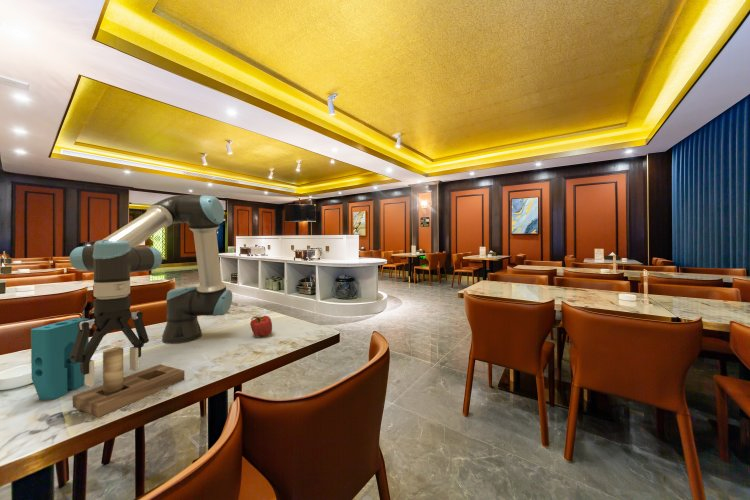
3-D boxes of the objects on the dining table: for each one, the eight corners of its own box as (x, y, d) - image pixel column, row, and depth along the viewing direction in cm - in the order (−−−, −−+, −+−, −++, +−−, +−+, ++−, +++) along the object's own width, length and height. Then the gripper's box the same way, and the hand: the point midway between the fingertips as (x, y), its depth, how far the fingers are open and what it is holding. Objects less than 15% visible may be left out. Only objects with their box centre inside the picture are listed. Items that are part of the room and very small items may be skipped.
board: (72, 406, 78) (72, 395, 78) (160, 373, 98) (160, 364, 98) (98, 417, 73) (98, 405, 73) (184, 379, 94) (184, 370, 93)
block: (74, 381, 91) (74, 318, 91) (90, 382, 91) (90, 318, 91) (29, 402, 79) (28, 329, 79) (48, 403, 79) (47, 329, 79)
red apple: (257, 341, 131) (258, 319, 130) (243, 337, 136) (243, 315, 136) (277, 335, 140) (277, 314, 140) (263, 331, 145) (263, 311, 145)
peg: (99, 402, 80) (99, 351, 79) (118, 395, 84) (117, 346, 83) (108, 406, 78) (108, 354, 78) (127, 398, 82) (127, 349, 82)
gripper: (65, 305, 69) (66, 399, 69) (163, 291, 89) (163, 364, 90) (48, 302, 71) (49, 393, 72) (148, 289, 92) (148, 360, 92)
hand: (113, 376), depth 81 cm, fingers open, 9 cm apart
